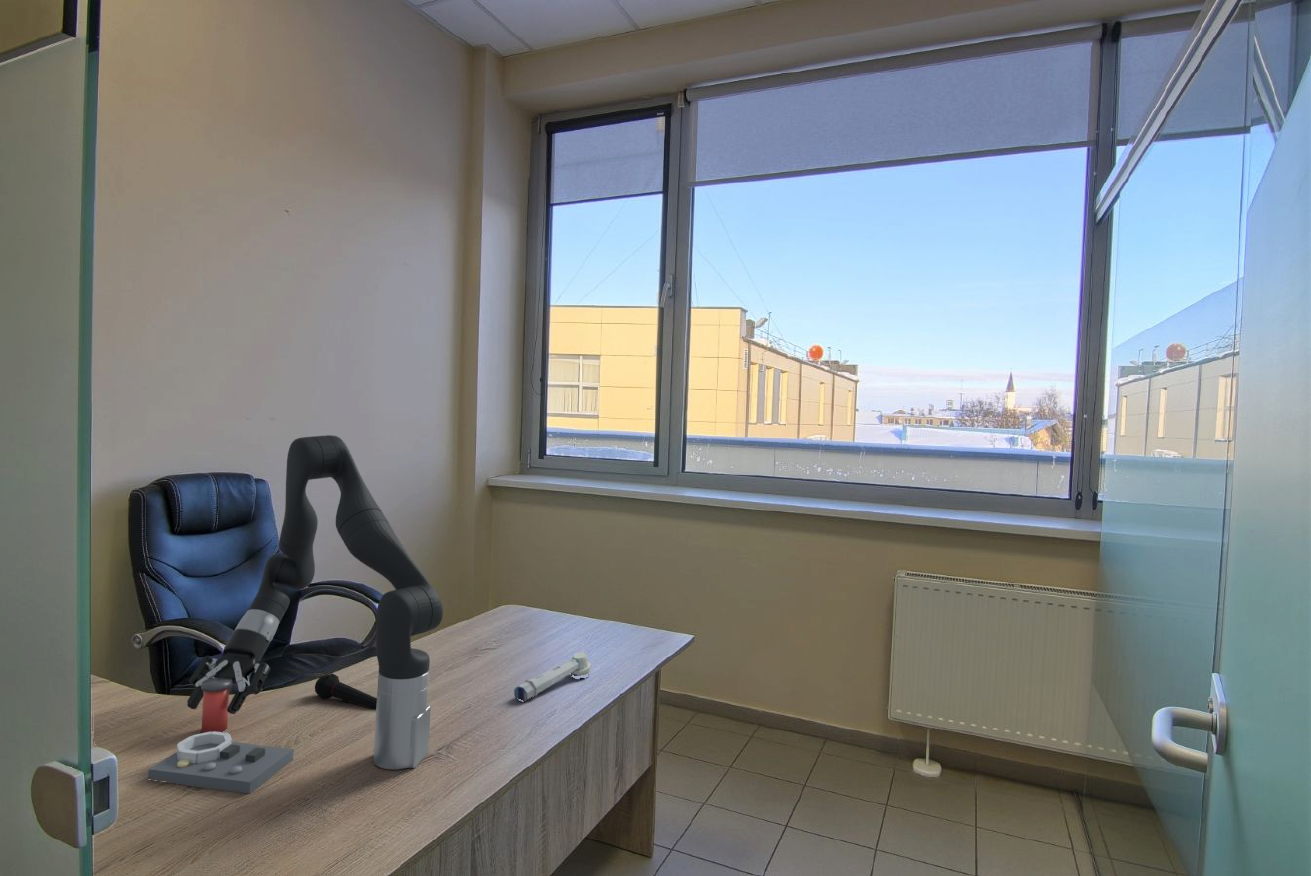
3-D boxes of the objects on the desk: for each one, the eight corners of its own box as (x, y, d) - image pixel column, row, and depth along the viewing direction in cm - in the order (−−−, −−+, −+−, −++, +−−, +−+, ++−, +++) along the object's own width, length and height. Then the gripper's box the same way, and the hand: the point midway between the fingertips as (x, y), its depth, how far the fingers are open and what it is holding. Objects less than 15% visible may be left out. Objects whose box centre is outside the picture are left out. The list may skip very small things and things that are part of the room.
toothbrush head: (511, 683, 164) (579, 644, 185) (512, 709, 165) (580, 668, 186) (527, 689, 162) (594, 649, 182) (528, 716, 163) (595, 673, 183)
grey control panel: (292, 759, 130) (294, 739, 130) (249, 793, 118) (250, 771, 118) (199, 748, 132) (200, 728, 132) (147, 780, 120) (148, 759, 120)
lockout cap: (235, 726, 142) (237, 678, 141) (216, 737, 136) (219, 688, 136) (211, 723, 142) (214, 675, 142) (192, 734, 137) (195, 685, 137)
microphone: (393, 721, 156) (321, 694, 161) (402, 695, 157) (330, 669, 162) (378, 723, 151) (305, 696, 156) (388, 696, 152) (315, 670, 157)
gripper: (213, 624, 147) (167, 698, 136) (276, 630, 146) (235, 706, 134) (230, 640, 152) (187, 713, 141) (290, 647, 151) (252, 721, 140)
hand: (210, 710), depth 138 cm, fingers open, 8 cm apart
